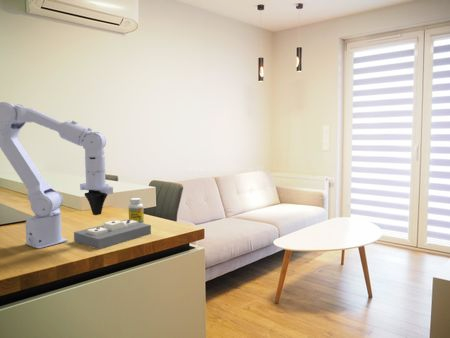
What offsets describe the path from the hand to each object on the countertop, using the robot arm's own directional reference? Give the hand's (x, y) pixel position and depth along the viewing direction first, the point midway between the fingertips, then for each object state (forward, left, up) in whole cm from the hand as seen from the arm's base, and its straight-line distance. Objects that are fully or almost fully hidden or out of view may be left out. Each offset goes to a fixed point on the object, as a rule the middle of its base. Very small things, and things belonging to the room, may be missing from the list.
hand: (97, 214), depth 111 cm
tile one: (+5, -1, -6) cm, 8 cm away
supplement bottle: (+21, +7, -9) cm, 24 cm away
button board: (+5, -1, -8) cm, 10 cm away
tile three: (+11, -1, -8) cm, 14 cm away
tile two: (-1, -1, -7) cm, 8 cm away
